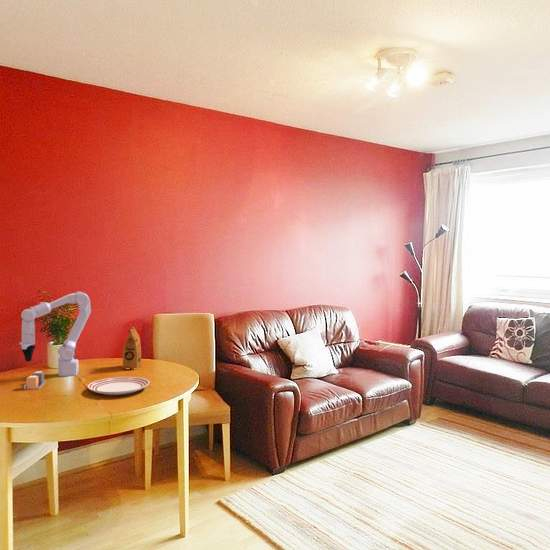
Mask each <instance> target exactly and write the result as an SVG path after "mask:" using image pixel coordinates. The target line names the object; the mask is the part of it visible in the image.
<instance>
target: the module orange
mask: <svg viewBox="0 0 550 550" xmlns="http://www.w3.org/2000/svg"><path fill="white" fill-rule="evenodd" d="M25 381H26V383H25V384H26V389H31V390H37V389H36V388H37V387H38V376H32V375H29V376H27V378H26V379H25Z"/></svg>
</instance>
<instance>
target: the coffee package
mask: <svg viewBox="0 0 550 550" xmlns="http://www.w3.org/2000/svg"><path fill="white" fill-rule="evenodd" d="M127 333H129V335H128V337H127V339H126V341H125V342H124V345H123V348H122V368H131V370H133V369H134V368H140V367H141V366H142V346H141V345H142V344H141V337H140V334H139V333H138V332H137V330H136V328H135V326H132V327H131V328H130V329H129V330H127ZM139 366H140V367H139Z"/></svg>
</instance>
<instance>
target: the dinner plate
mask: <svg viewBox="0 0 550 550" xmlns="http://www.w3.org/2000/svg"><path fill="white" fill-rule="evenodd" d="M149 385H150V381H149V380H148V379H145V378H143V377H134V376H119V377H118V376H117V377H116V376H115V377H108V378H102V379H98V380H94V381H92V382H90V383H89V384H88V385H87V388H88V389H89V390H90V391H91V392H94V393H97V394H101V395H105V396H122V395H129V394H130V395H131V394H133V393H135V392H138V391H141V390H143V389H144V388H146V387H147V386H149Z"/></svg>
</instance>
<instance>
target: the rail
mask: <svg viewBox="0 0 550 550" xmlns="http://www.w3.org/2000/svg"><path fill="white" fill-rule="evenodd" d="M46 383H47V379H44V381H43V382H42V383H41V384H38V387H37V388H36V389H35V390H40V389H41V388H43V386H44V385H45V384H46ZM23 390H27V391H28V390H32V389H26V383H24V384H23Z"/></svg>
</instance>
